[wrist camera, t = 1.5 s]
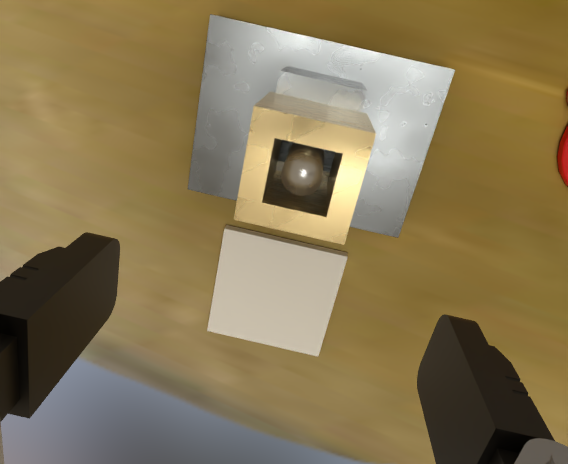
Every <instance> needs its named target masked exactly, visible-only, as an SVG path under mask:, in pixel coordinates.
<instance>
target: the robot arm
mask: <svg viewBox="0 0 568 464" xmlns="http://www.w3.org/2000/svg"><path fill="white" fill-rule="evenodd" d="M119 256H120V244H119V241H118V240H117V239H114V238H110V237H106V236H101V235H97V234H92V233H87V232H86V233H84V234H82V235H81V236H80V237H79V238H77V239H76V240H75V241H74V242H72V243H71V244H70V245H69V246H67V247H66V248H63V247H57V248H54V249H51V250H48V251H45V252H42V253H40V254H37V255H36V256H35V257H33V258H32V259H31V260H29V261H28V262H26V263H25V264H24V265H23V267H22V268H21V267H20V268H18V269H17V270H16V271H14V272H13V273H12V274H11V275H10V277H6V278H5V279H4V280H2V281H1V282H0V422H1V421H2V420H3V418H4V417H5V416H6V415H7V414H13V415H17V416H21V417H26V418H30V417H31V416H32V415H33V414H34V412H35V411H36V410H37V408H38V407H39V406H40V405H41V403H42V402H43V401H44V400H45V398H46V397H47V396H48V394H49V393H50V392H51V391H52V389H53V388H54V387H55V386H56V384H57V383H58V382H59V380H60V379H61V378H62V377H63V375H64V374H65V373H66V372H67V370H68V369H69V368H70V367H71V365H72V364H73V363H74V361H75V360H76V359H77V358H78V356H79V355H80V354H81V353H82V351H83V350H84V349H85V348H86V346H87V345H88V344H89V342H90V341H91V340H92V339H93V337H94V336H95V335H96V334H97V332H98V331H99V330H100V328H101V327H102V326H103V325H104V323H105V322H106V321H107V320H108V318H109V316H110V315H111V313H112V310H113V308H114V305H115V301H116V296H117V285H118V270H119ZM417 389H418V394H419V398H420V401H421V405H422V409H423V413H424V417H425V421H426V425H427V429H428V433H429V437H430V441H431V445H432V449H433V453H434V457H435V461H436V464H568V447H567V446H565V445H563V444H560V443H558V442H555V440H554V439H553V437H552V435H551V433H550V431H549V430H548V428H547V426H546V424H545V422H544V421H543V419H542V417H541V415H540V414H539V412H538V410H537V408H536V406H535V405H534V403H533V401H532V399H531V397H529V396H528V392H527V390H526V389H525V387H524V385H523V383H522V382H520V378H519V376H518V374H517V372H516V371H515V369H514V367H513V365H512V364H511V362H510V361H509V360H508V359H507V358H506V357H505V356H504V355H503V354H502V353H501V352H500V351H499V350H498V349H496V348H495V347H494V346H490V345H488V343H487V341H486V339H485V337H484V335H483V333H482V331H481V329H480V327H479V325H478V324H477V322H475V321H472V320H467V319H463V318H458V317H454V316H450V315H442V316H441V317H440V318H439V320H438V322H437V324H436V327H435V329H434V332H433V334H432V337H431V339H430V342H429V344H428V346H427V349H426V351H425V354H424V356H423V359H422V361H421V364H420V367H419V371H418V377H417ZM0 464H4V457H3V446H2V434H1V423H0Z"/></svg>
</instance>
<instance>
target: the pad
mask: <svg viewBox="0 0 568 464" xmlns="http://www.w3.org/2000/svg"><path fill="white" fill-rule="evenodd" d="M347 258H348V254H347V252H343V251H338V250H334V249H330V248H325V247H321V246H317V245H312V244H308V243H304V242H299V241H295V240H290V239H286V238H282V237H277V236H273V235H269V234H264V233H260V232H256V231H251V230H247V229H243V228H238V227H234V226H230V225H226V227H225V229H224V234H223V240H222V246H221V252H220V258H219V264H218V270H217V276H216V282H215V288H214V294H213V300H212V306H211V312H210V317H209V323H208V329H207V331H210V332H215V333H219V334H223V335H228V336H232V337H236V338H241V339H245V340H249V341H253V342H258V343H262V344H266V345H271V346H275V347H279V348H284V349H288V350H292V351H297V352H301V353H305V354H309V355H314V356H319V352H320V349H321V346H322V342H323V339H324V335H325V332H326V329H327V325H328V322H329V319H330V315H331V312H332V308H333V305H334V302H335V298H336V295H337V291H338V288H339V285H340V281H341V278H342V274H343V271H344V268H345V264H346V261H347Z"/></svg>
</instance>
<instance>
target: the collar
mask: <svg viewBox="0 0 568 464" xmlns="http://www.w3.org/2000/svg"><path fill="white" fill-rule="evenodd" d="M375 136H376V132H375V130H374V128H373V126H372V123H371V121H370V119H369V117H368V115H367V113H362V112H358V111H354V110H349V109H345V108H340V107H336V106H332V105H327V104H323V103H318V102H314V101H310V100H305V99H301V98H297V97H292V96H288V95H283V94H279V93H275V92H269V93H268V94H267V95H266V96H265V97H263V98H262V99H261V100H260V101H259V102H258V103H256V104H255V105H254V107H253V113H252V118H251V124H250V130H249V135H248V141H247V147H246V152H245V158H244V164H243V169H242V175H241V181H240V187H239V192H238V198H237V204H236V209H235V215H234V220H238V221H243V222H247V223H251V224H256V225H260V226H264V227H269V228H273V229H277V230H282V231H286V232H290V233H295V234H299V235H303V236H308V237H312V238H316V239H321V240H325V241H329V242H334V243H338V244H342V245H344V244H345V240H346V237H347V233H348V230H349V226H350V223H351V220H352V216H353V213H354V209H355V206H356V202H357V199H358V195H359V192H360V188H361V185H362V181H363V178H364V174H365V171H366V168H367V164H368V161H369V157H370V154H371V150H372V147H373V143H374V140H375ZM282 140H286V141H290V142H294V143H299V144H303V145H307V146H312V147H316V148H321V149H325V150H329V151H334V152H335V155H334V158H333V162H332V166H331V170H330V174H329V178H328V182H326V181H322V183H321V185H320V187H319V188H318V189H317V190H316V191H315V192H313V193H312V194H309V195H306V196H299V195H295V194H293V193H291V192H289V191H288V190H287V189H286V188H285V186H284V185H283V182H282V179H281V172H282V171H278V170H276V167H277V162H278V157H279V152H280V147H281V142H282Z"/></svg>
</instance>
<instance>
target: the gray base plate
mask: <svg viewBox="0 0 568 464" xmlns="http://www.w3.org/2000/svg"><path fill="white" fill-rule="evenodd" d="M454 72H455V70H454V69H450V68H446V67H442V66H437V65H433V64H428V63H424V62H419V61H415V60H411V59H406V58H402V57H397V56H393V55H389V54H384V53H380V52H375V51H371V50H367V49H362V48H358V47H353V46H349V45H344V44H340V43H336V42H331V41H327V40H322V39H318V38H314V37H309V36H305V35H300V34H296V33H292V32H287V31H283V30H278V29H274V28H269V27H265V26H261V25H256V24H252V23H247V22H243V21H239V20H234V19H230V18H225V17H221V16H216V15H211V14H210V20H209V28H208V36H207V44H206V51H205V59H204V67H203V75H202V83H201V90H200V98H199V106H198V114H197V122H196V129H195V137H194V145H193V153H192V160H191V168H190V176H189V184H188V189H189V190H193V191H197V192H202V193H206V194H210V195H215V196H219V197H223V198H228V199H232V200H236V201H237V198H238V192H239V187H240V181H241V175H242V169H243V164H244V158H245V152H246V147H247V141H248V135H249V130H250V124H251V118H252V113H253V107H254V105H255V104H256V103H258V102H259V101H260V100H261V99H262V98H263V97H265V96H266V95H267V94H268V93H269V92H275V93H279V94H283V95H288V96H292V97H297V98H301V99H305V100H310V101H314V102H318V103H323V104H327V105H332V106H336V107H340V108H345V109H349V110H354V111H358V112H362V113H367V115H368V117H369V119H370V121H371V123H372V126H373V128H374V130H375V132H376V136H375V140H374V143H373V147H372V150H371V154H370V157H369V161H368V164H367V168H366V171H365V174H364V178H363V181H362V185H361V188H360V192H359V195H358V199H357V202H356V206H355V209H354V213H353V216H352V220H351V223H350V226H349V227H354V228H358V229H363V230H367V231H371V232H376V233H380V234H384V235H389V236H393V237H397V238H398V237H399V234H400V231H401V228H402V225H403V222H404V219H405V216H406V213H407V210H408V207H409V204H410V201H411V198H412V196H413V193H414V190H415V187H416V184H417V181H418V178H419V175H420V172H421V169H422V166H423V163H424V160H425V157H426V154H427V151H428V148H429V145H430V142H431V139H432V137H433V134H434V131H435V128H436V125H437V122H438V119H439V116H440V113H441V110H442V107H443V104H444V101H445V98H446V95H447V92H448V89H449V86H450V83H451V80H452V77H453V75H454ZM334 155H335V152H334V151H329V150H325V149H321V148H316V147H312V146H307V145H303V144H299V143H294V142H290V141H286V140H282V142H281V147H280V152H279V157H278V162H277V167H276V170H278V171H282V172H281V179H282V182H283V185H284V186H285V188H286V189H287V190H288V191H289V192H291V193H293V194H295V195H299V196H306V195H309V194H312V193H313V192H315V191H316V190H317V189H318V188H319V187H320V185H321V183H322V181H326V182H328V178H329V174H330V170H331V166H332V162H333V158H334Z"/></svg>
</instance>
